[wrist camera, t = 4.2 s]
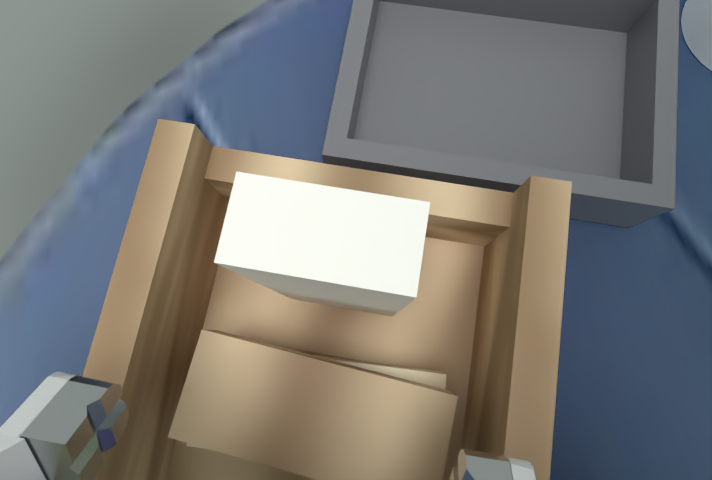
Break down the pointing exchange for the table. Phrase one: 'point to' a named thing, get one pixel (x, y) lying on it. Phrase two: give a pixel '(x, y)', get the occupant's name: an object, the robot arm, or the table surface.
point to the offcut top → (311, 413)
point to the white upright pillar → (325, 242)
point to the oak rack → (328, 323)
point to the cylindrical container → (698, 29)
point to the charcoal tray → (515, 98)
